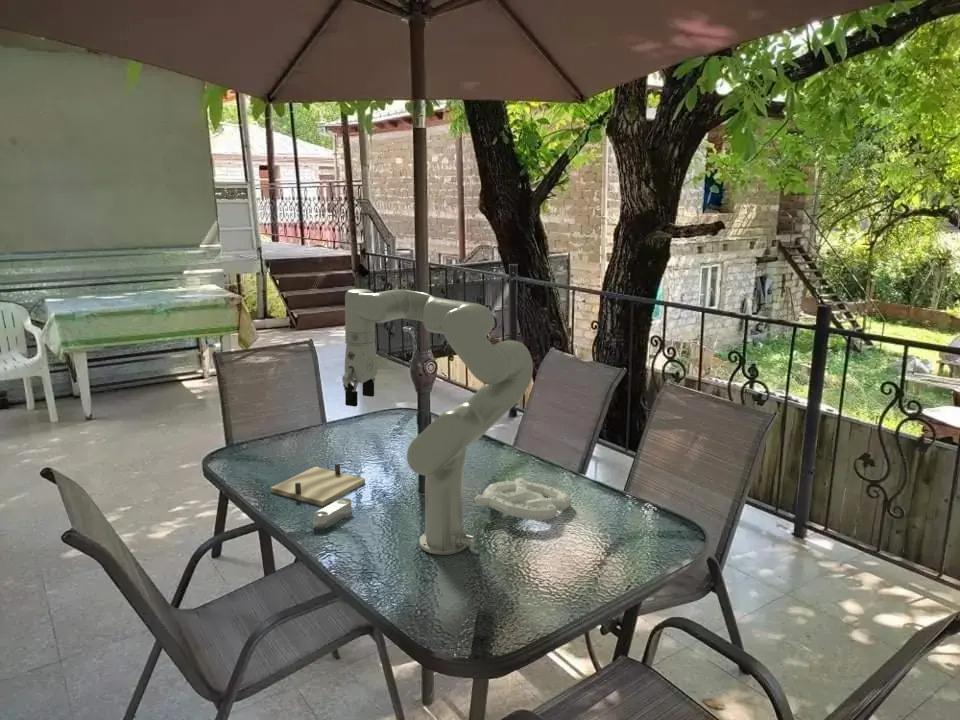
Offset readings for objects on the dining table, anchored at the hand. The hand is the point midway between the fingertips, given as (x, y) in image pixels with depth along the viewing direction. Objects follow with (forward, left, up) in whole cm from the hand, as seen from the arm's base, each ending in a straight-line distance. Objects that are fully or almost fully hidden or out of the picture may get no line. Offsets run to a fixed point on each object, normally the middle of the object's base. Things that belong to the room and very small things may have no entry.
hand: (360, 400), depth 185 cm
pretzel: (-35, -30, -35) cm, 58 cm away
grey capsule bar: (+8, +3, -35) cm, 36 cm away
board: (+26, -12, -35) cm, 45 cm away
